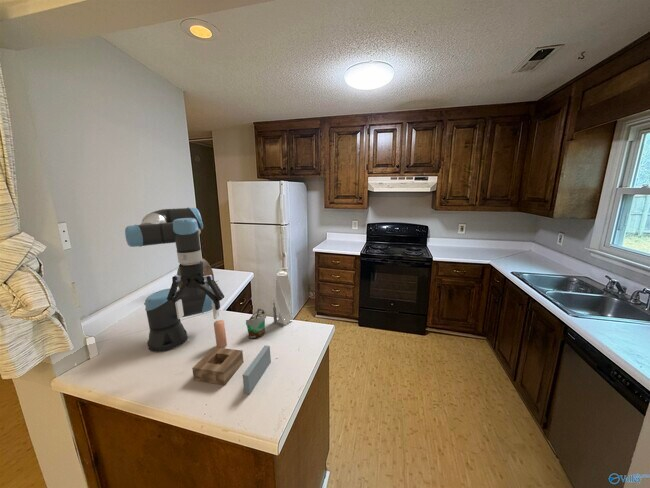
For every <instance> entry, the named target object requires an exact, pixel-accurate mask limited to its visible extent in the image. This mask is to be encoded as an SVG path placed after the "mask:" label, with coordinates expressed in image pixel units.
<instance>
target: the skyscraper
mask: <svg viewBox="0 0 650 488" xmlns="http://www.w3.org/2000/svg"><path fill="white" fill-rule="evenodd" d="M283 269H287V271H283ZM289 270H290V267H287V266H286V267H281V268H278V270H277V271H276V276H275V277H276V279H275V298H276V300H275V301H276V302H275V301H273V303H272V304H273V307H272V308H273V309H272V311H273V312H272V313H273V315H272V316H273V317H272V318H273V322H272V323H273V324H275V325H277V326H280V327H281V326H282V327H284V326H285V327H286V326H287V325H289V324H291V323H292V322H293V321H290V320H293V318H292V315H291V312H290V307H291V300H292V288H291V287H292V286H291V281H290V279H289V276H288V273H289ZM276 304H277V307H276ZM277 308H278V311H279V312H278V315H277ZM284 319H285V320H284Z"/></svg>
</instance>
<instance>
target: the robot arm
mask: <svg viewBox="0 0 650 488" xmlns="http://www.w3.org/2000/svg"><path fill="white" fill-rule="evenodd" d="M202 219H203V218H202V216H201V213H200V210H199V209H198V208H196V207H182V208H178V207H177V208H165V209H164V208H163V209H159V210H155V211H152V212H150V213H147V214H146V215H145V216H143V218H142V220H141V223H140V224H134V225H127V226H126V227H125V229H124V235H125V240H126V244H127V245H128V246H129V247H133V248H135V247H139V248H140V247H146V246H153V245H154V246H155V245H165V244H174V243H175V247H176V255H177V256H176V257H177V261H178V264H179V265H178V268H179V269H180V274H181V276H180V275H179V274H177V273H176V275H174V276H172V283H171V284H170V288H164V289H160V290H158V291H156V292H153V293H151V294H150V295H148V296H147V297H146V299H145V300H144V304H145V312H146V316H147V323H148V327H149V333H148V340H147V341H146V342H147V350H148V351H150V352H153V353H162V352H163V353H164V352H167V351H171V350H173V349H176V348H178V347H179V346H182V345H183V344H184V343H185V342H186V341H187V339H188V333H187V332H188V331H187V330H186V329H185V327H184V325H183V324H182V322H181V318H185V317H190V316H194V315H200V314H204V313H207V312H211V311H212V316H213V319H214V320H217V319H218V317H220V313H219V312H220V311H219V310H220V309H221V303H220V301H222V300H223V299H224V298H225V295H224V293H223V292H222V290H221V288H220V286H219V285H218V283H217V282H216V281H215V276H214V277H213V275H214V274H213V275H212V274H210V275H207V276H205V275H204V269H203V262H202V258H203V256H202V249H201V241H200V234H201V233H202V231H203V229H204V224H203V220H202ZM180 280H181V281H182V282H183V285H182V286H181V288H180V289H179V287H178V285H179V282H180ZM177 289H179V290H178V291H177Z"/></svg>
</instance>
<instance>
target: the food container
mask: <svg viewBox="0 0 650 488" xmlns="http://www.w3.org/2000/svg"><path fill="white" fill-rule="evenodd" d="M266 319H267V314H266V312H265V310H264V309H261V308H257V310H256V312H254V313H253V314H252V315H251V316H250V317H249V319H246V320H245V326H246V329H247V335H248V339H249V340H257V339H260V338H262V337H264V335H265V333H266Z"/></svg>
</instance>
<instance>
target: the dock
mask: <svg viewBox="0 0 650 488" xmlns="http://www.w3.org/2000/svg"><path fill="white" fill-rule="evenodd" d="M271 356H272V355H271V346H270V345H263V347H262V348H261V350H259V352H258V354H256V356H255V358H254V359H253V361H252V362H251V363H250V365H248V367H247V368H246V370H245V371H244V372H243V374H242V383H243V384H242V385H243V391H244V392H243V393H244V395H245V394H246V395H251V394H252V392H253V391H254V390H255V387H256V386H257V385H258V383H259V381H260V380H261V378H262V377H263V375H264V374H265V372H266V371H267V369H268V367H270V364H271V363H272V357H271Z"/></svg>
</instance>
